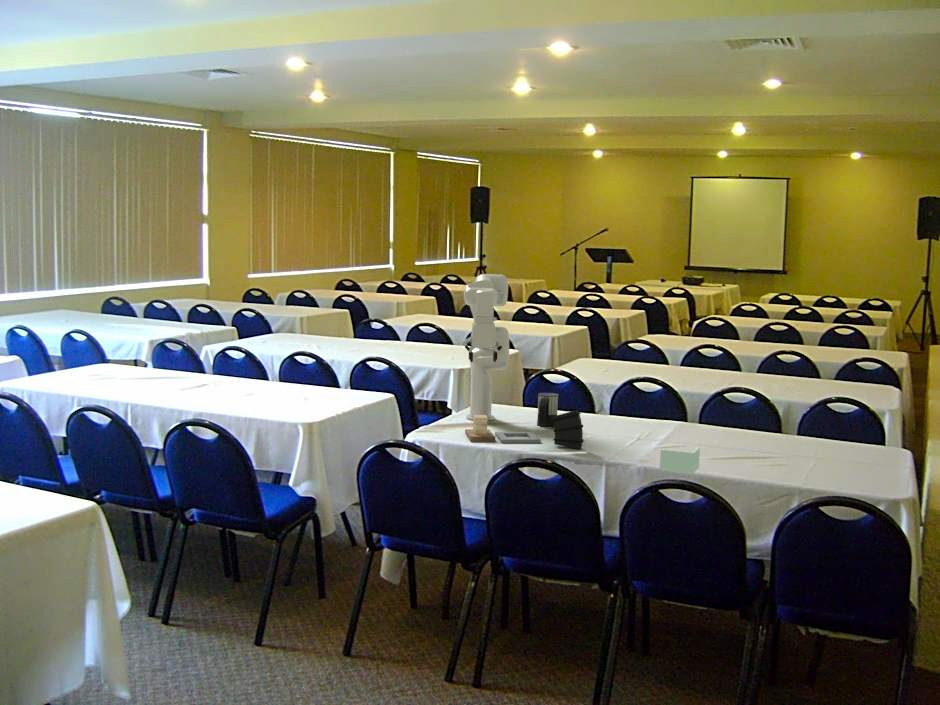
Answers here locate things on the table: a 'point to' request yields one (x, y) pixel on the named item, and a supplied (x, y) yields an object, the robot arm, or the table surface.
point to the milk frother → (547, 409)
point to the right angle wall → (680, 461)
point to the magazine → (568, 430)
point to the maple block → (480, 424)
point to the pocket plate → (531, 438)
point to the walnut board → (479, 436)
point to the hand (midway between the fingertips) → (482, 361)
